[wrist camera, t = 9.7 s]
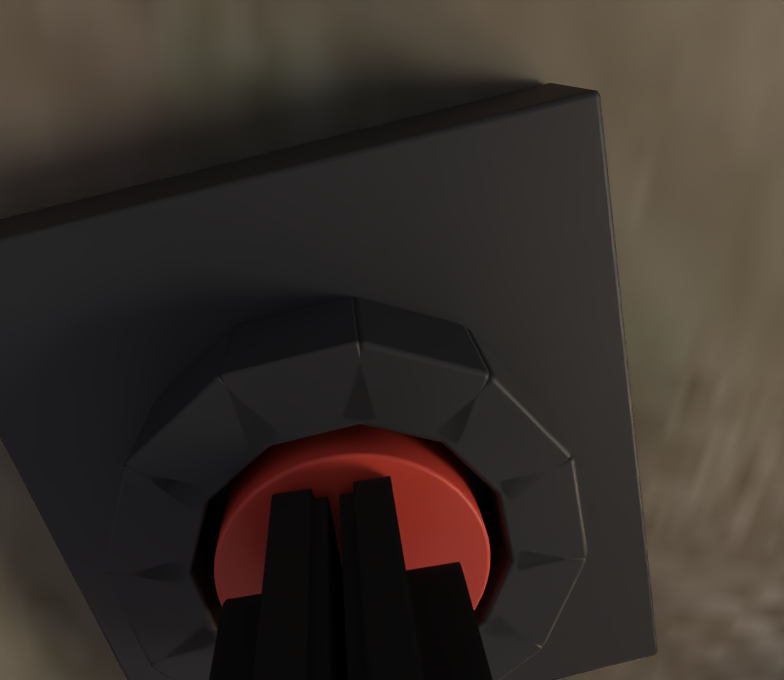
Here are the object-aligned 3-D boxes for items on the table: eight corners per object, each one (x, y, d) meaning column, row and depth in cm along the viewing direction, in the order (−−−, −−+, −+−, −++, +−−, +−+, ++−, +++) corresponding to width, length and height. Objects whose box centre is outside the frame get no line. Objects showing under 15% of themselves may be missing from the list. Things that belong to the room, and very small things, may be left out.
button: (487, 565, 13) (511, 641, 11) (268, 619, 13) (261, 703, 11) (443, 368, 11) (464, 423, 9) (194, 430, 11) (172, 495, 9)
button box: (617, 579, 16) (704, 736, 13) (193, 684, 16) (155, 872, 13) (553, 81, 12) (658, 97, 8) (-25, 225, 12) (-180, 306, 8)
